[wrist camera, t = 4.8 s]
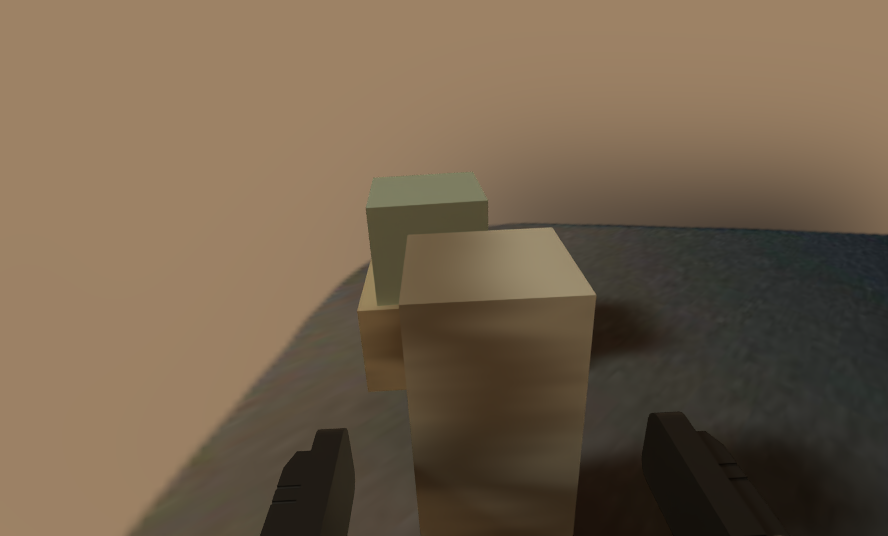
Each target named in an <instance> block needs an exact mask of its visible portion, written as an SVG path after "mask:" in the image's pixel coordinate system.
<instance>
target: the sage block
mask: <svg viewBox="0 0 888 536" xmlns="http://www.w3.org/2000/svg"><path fill="white" fill-rule="evenodd" d="M366 214H367V223H368V232H369V240H370V249H371V257H372V266H373V275H374V283H375V292H376V301H377V306H385V305H398V304H399V298H400V290H401V282H402V274H403V267H404V259H405V251H406V243H407V236H408V235H412V234H432V233H452V232H472V231H488V200H487V198H486V196H485V194H484V192H483V190H482V188H481V186H480V184H479V183H478V181H477V179H476V177H475V175H474V173H473V172H461V173H447V174H429V175H412V176H396V177H379V178H373V181H372V185H371V189H370V194H369V197H368V201H367V205H366Z"/></svg>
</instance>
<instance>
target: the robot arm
mask: <svg viewBox="0 0 888 536" xmlns="http://www.w3.org/2000/svg"><path fill="white" fill-rule="evenodd" d="M642 467H643V472H644V475H645V478H646V481H647V483H648V485H649V487H650V489H651V491H652V493H653V495H654V497H655V499H656V501H657V503H658V505H659V507H660V509H661V511H662V513H663V515H664V517H665V519H666V521H667V523H668V525H669V527H670V529H671V531H672V533H673V535H674V536H790V535H789V533H788V532H787V531H786V529H785V528H784V527H783V525H782V524H781V523H780V521H779V520H778V518H777V517H776V516H775V514H774V513H773V512H772V510H771V509H770V507H769V506H768V505H767V503H766V502H765V501H764V499H763V498H762V497H761V495H760V494H759V492H758V491H757V490H756V488H755V487H754V486H753V484H752V483H751V482H750V481H748V479H747V476H746V475H745V473H744V472H743V471H742V469H741V468H740V467H739V466H737V462H736V461H735V460H734V458H733V457H732V456H731V454H730V453H729V451H728V450H727V449H726V447H725V446H724V445H723V444H722V443H720V442H719V441H718V440H716V439H715V438H714V437H712V436H711V435H710V434H709V433H707V432H706V431H695V429H694V428H693V426H692V425H691V423H690V422H689V420H688V419H687V418H686V416H685V415H684V414H683V413H682V412H662V413H651V414H650V415H649V417H648V422H647V428H646V434H645V440H644V446H643V452H642ZM354 490H355V472H354V465H353V459H352V453H351V447H350V441H349V435H348V430H347V429H346V428H340V429H321V430H318V431H317V432H316V435H315V439H314V442H313V445H312V449H311V451H297V452H296V453H295V455H294V456H293V457H292V458H291V459H290V461H289V462H288V463H287V464H286V465H285V467H284V468H283V471H282V474H281V477H280V479H279V482H278V485H277V490H276V491H275V494H274V497H273V500H272V505H270V508H269V511H268V514H267V517H266V520H265V523H264V526H263V529H262V531H261V534H260V536H347V533H348V527H349V522H350V516H351V510H352V504H353V498H354Z"/></svg>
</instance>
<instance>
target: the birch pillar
mask: <svg viewBox="0 0 888 536" xmlns="http://www.w3.org/2000/svg"><path fill="white" fill-rule="evenodd" d="M595 303H596V294H595V292H594V291H593V289H592V288H591V286H590V285H589V283H588V282H587V280H586V279H585V277H584V275H583V274H582V272H581V271H580V269H579V268H578V266H577V265H576V263H575V262H574V260H573V259H572V257H571V256H570V254H569V253H568V251H567V250H566V248H565V247H564V245H563V243H562V242H561V240H560V239H559V237H558V236H557V234H556V233H555V231H554V230H553V228H533V229H513V230H493V231H472V232H452V233H432V234H412V235H408V236H407V243H406V251H405V259H404V267H403V274H402V282H401V290H400V298H399V315H400V325H401V336H402V346H403V357H404V367H405V377H406V388H407V398H408V409H409V419H410V430H411V440H412V451H413V461H414V472H415V482H416V493H417V503H418V514H419V524H420V535H421V536H573V531H574V520H575V510H576V500H577V489H578V479H579V469H580V458H581V448H582V438H583V427H584V417H585V407H586V396H587V386H588V376H589V365H590V355H591V345H592V334H593V324H594V314H595Z"/></svg>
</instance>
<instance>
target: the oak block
mask: <svg viewBox="0 0 888 536" xmlns="http://www.w3.org/2000/svg"><path fill="white" fill-rule="evenodd" d="M357 313H358V320H359V327H360V335H361V342H362V349H363V357H364V364H365V371H366V379H367V386H368V392H373V391H392V390H407V388H406V377H405V367H404V357H403V346H402V336H401V325H400V315H399V304H398V305H385V306H377V301H376V292H375V283H374V275H373V266H372V258H371V262H370V265H369V269H368V273H367V277H366V280H365V284H364V288H363V292H362V295H361V299H360V303H359V307H358V310H357Z"/></svg>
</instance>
